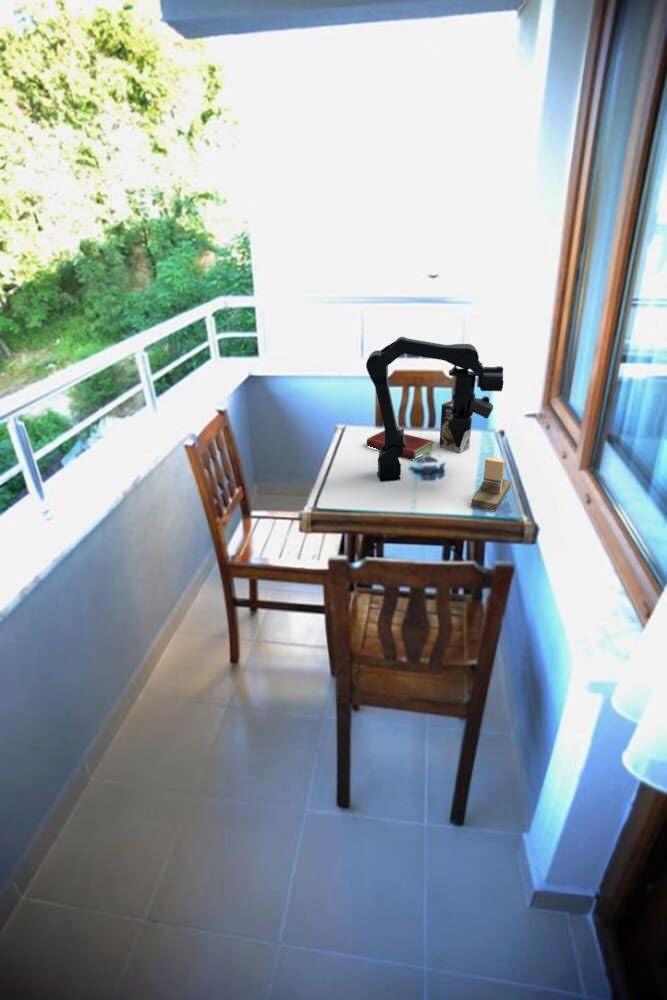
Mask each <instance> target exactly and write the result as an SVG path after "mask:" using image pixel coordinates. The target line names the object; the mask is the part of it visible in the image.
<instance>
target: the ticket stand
mask: <svg viewBox="0 0 667 1000" xmlns="http://www.w3.org/2000/svg"><path fill="white" fill-rule="evenodd" d="M511 484H512V480H510V479H509V480H508V479H505V478H503V480H502V482H498V481H492V480H487V479H483V480H482V482H481V485H480V487H479V488H478V490H476V492H475V493H474V495H473V496H472V497H471V499H470V501H471V503H470V507H471V508H475V509H480V510H484V509H487V510H486V511H489V510H494V511H496V510H497V511H498V509H499V508H500V506H501V504H502V503H501V502H503V501H504V499H505V498H504V497H506V496H507V494H508V493H509V491H510V489H511ZM507 492H508V493H507ZM502 500H503V501H502ZM499 505H500V506H499ZM498 507H499V508H498ZM497 508H498V509H497ZM494 511H493V512H494ZM497 511H496V512H497Z"/></svg>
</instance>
